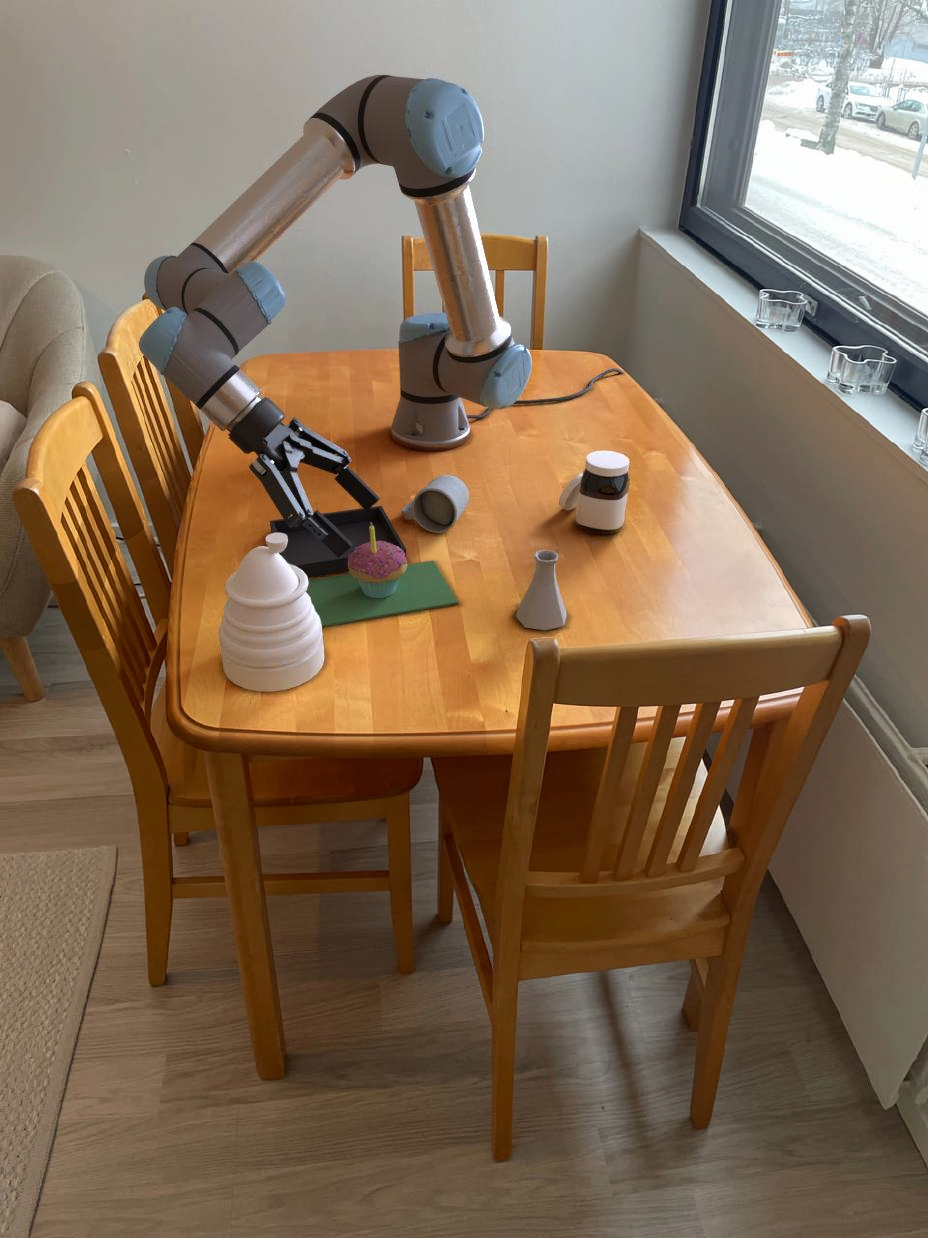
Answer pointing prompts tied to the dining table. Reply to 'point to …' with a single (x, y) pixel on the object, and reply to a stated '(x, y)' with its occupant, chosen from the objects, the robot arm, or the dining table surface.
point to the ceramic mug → (438, 504)
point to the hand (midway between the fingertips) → (360, 527)
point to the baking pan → (351, 524)
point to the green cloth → (349, 604)
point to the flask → (543, 596)
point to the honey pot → (270, 623)
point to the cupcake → (377, 566)
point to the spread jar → (599, 493)
